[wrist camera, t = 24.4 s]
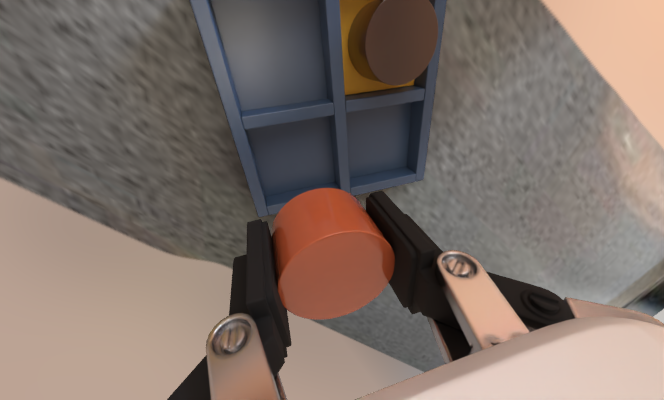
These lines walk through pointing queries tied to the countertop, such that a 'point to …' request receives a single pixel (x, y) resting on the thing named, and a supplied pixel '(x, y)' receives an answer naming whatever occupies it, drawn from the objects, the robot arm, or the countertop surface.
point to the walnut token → (393, 40)
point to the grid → (312, 99)
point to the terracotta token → (328, 255)
